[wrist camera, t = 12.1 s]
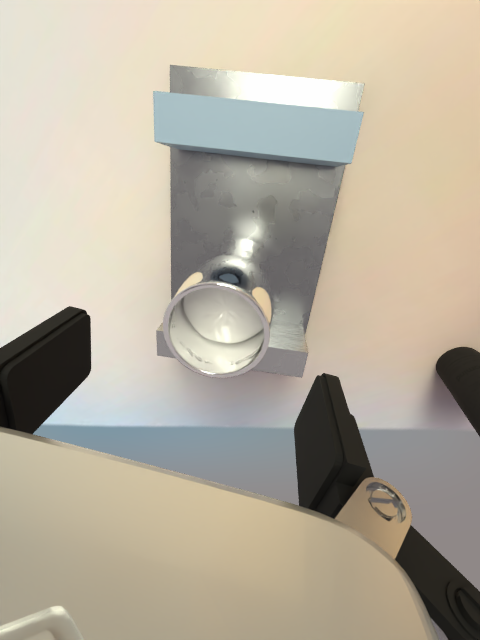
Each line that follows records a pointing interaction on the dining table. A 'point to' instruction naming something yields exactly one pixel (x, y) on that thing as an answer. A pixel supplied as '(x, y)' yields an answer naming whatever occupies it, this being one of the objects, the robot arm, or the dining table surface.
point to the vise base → (258, 204)
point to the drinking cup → (463, 380)
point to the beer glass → (223, 312)
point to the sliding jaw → (256, 129)
